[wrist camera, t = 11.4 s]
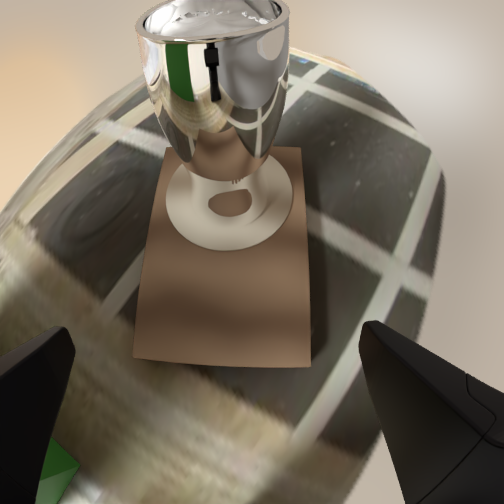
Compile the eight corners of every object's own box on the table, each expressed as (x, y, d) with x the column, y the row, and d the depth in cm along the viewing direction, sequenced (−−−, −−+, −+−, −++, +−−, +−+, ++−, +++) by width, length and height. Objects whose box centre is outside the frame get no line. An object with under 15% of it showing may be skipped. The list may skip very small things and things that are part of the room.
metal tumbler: (280, 167, 24) (300, -8, 11) (266, 242, 22) (285, 47, 8) (199, 155, 25) (169, -10, 11) (174, 226, 22) (99, 49, 8)
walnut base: (305, 367, 20) (311, 366, 18) (141, 359, 21) (131, 357, 19) (298, 161, 27) (301, 146, 25) (170, 160, 27) (165, 145, 25)
